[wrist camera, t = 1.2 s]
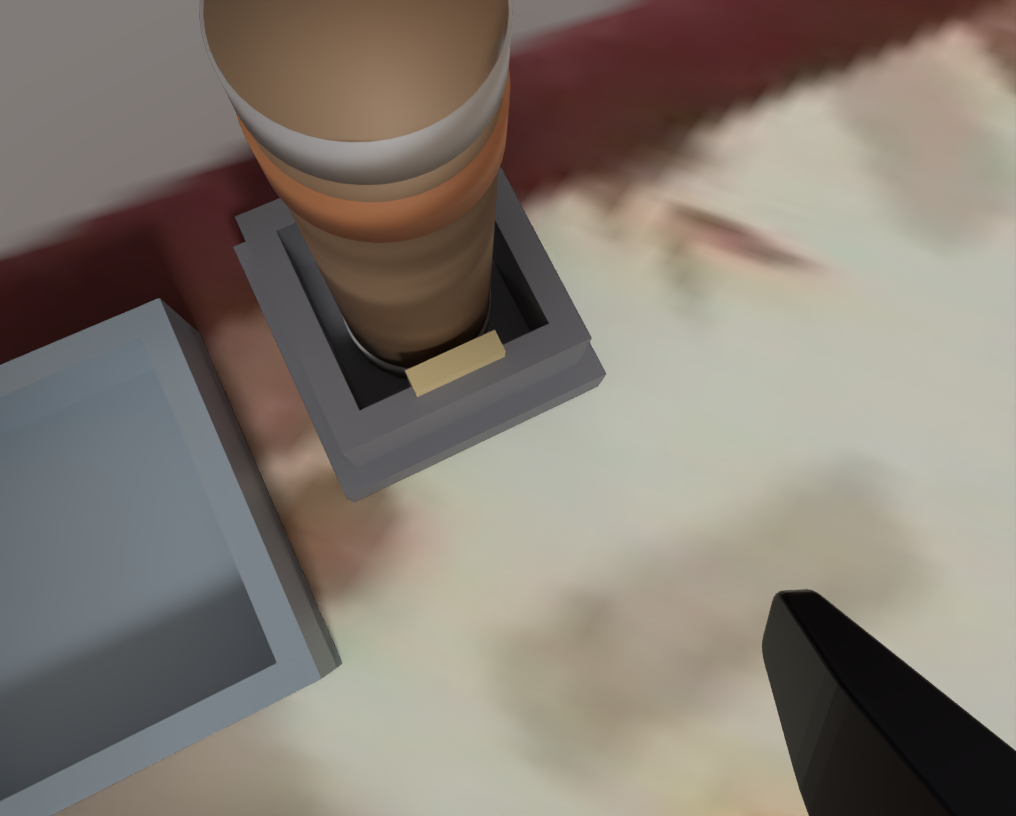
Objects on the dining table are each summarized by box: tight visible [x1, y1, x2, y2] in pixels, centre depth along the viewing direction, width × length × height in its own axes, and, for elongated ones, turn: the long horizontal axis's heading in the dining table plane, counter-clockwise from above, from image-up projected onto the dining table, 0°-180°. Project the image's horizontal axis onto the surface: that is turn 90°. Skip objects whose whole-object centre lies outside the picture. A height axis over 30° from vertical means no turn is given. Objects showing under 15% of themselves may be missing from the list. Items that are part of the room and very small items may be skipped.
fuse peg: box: [199, 0, 513, 379], centre depth 16 cm, size 4×4×12 cm
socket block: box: [234, 166, 606, 502], centre depth 21 cm, size 8×8×4 cm
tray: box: [0, 298, 342, 816], centre depth 20 cm, size 11×11×3 cm
